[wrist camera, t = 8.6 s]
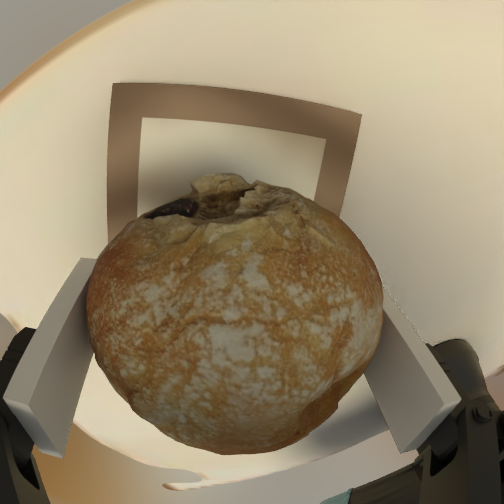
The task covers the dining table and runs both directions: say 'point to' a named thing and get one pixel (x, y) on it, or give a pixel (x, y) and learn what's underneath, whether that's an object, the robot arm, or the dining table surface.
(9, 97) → the dining table surface
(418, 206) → the dining table surface
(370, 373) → the robot arm
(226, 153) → the walnut frame
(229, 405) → the bread roll
